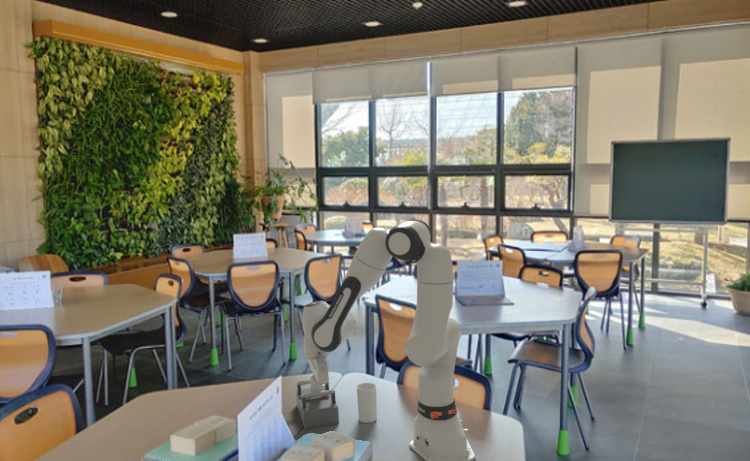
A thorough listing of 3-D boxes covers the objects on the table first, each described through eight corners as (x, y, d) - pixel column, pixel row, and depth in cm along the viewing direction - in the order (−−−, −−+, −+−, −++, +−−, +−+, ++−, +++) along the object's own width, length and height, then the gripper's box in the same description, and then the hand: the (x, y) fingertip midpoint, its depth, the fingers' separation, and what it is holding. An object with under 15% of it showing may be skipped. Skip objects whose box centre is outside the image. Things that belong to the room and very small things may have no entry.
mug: (375, 424, 194) (373, 390, 193) (356, 423, 196) (354, 390, 194) (380, 411, 204) (379, 379, 203) (362, 410, 206) (361, 378, 204)
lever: (322, 399, 203) (323, 376, 197) (310, 400, 202) (311, 378, 196) (321, 392, 205) (322, 370, 200) (309, 394, 204) (309, 372, 199)
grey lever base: (339, 423, 196) (337, 393, 195) (304, 429, 193) (302, 399, 192) (328, 400, 215) (326, 373, 214) (296, 405, 212) (295, 378, 211)
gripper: (332, 356, 183) (334, 397, 185) (320, 338, 202) (322, 375, 204) (312, 359, 181) (315, 400, 183) (303, 340, 201) (305, 377, 202)
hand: (319, 387), depth 194 cm, fingers closed
